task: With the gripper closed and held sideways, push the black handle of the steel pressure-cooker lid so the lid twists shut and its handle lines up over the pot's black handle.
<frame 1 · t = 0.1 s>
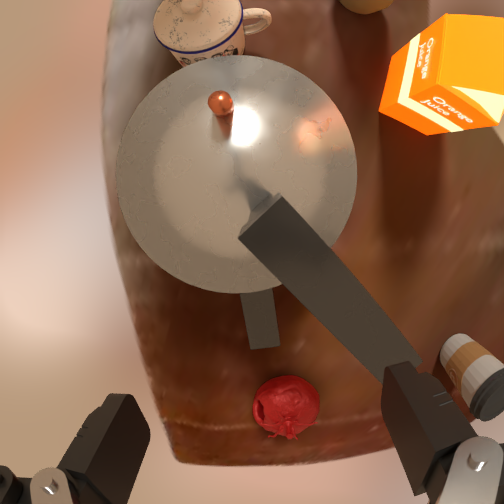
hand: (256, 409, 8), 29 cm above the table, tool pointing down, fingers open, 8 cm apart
cooker lid: (269, 216, 19), point 17 cm above the table, hinge at 35.0°
pomegranate: (285, 390, 43), on the table
orange juice: (410, 95, 32), on the table
teacup with lid: (222, 44, 31), on the table
coffee cup: (453, 348, 41), on the table
cooker pot: (243, 172, 35), on the table
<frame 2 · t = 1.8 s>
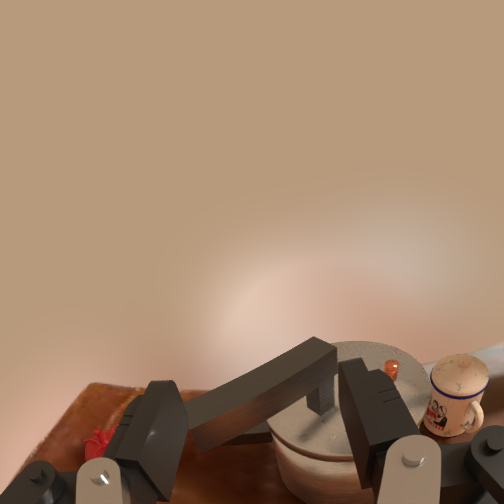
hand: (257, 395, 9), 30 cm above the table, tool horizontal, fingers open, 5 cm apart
cooker lid: (320, 384, 27), point 17 cm above the table, hinge at 35.0°
pomegranate: (126, 470, 34), on the table
teacup with lid: (451, 424, 32), on the table
cooker pot: (344, 456, 33), on the table
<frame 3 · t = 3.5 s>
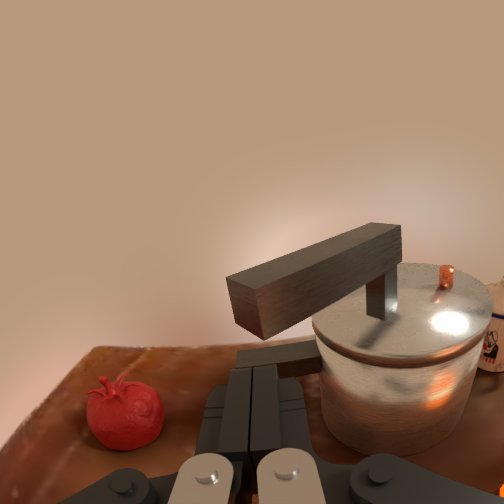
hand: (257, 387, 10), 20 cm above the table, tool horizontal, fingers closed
cooker lid: (382, 279, 24), point 17 cm above the table, hinge at 35.0°
pomegranate: (136, 433, 31), on the table
teacup with lid: (498, 360, 29), on the table
cooker pot: (395, 398, 30), on the table
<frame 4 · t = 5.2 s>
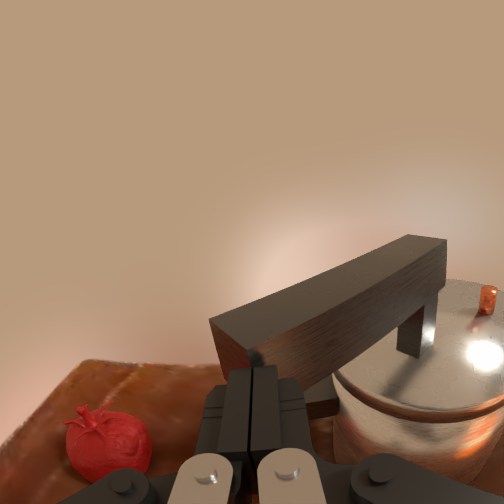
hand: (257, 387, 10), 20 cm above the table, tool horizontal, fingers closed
cooker lid: (419, 308, 18), point 17 cm above the table, hinge at 33.6°, touching gripper
pomegranate: (122, 465, 25), on the table
cooker pot: (416, 434, 24), on the table
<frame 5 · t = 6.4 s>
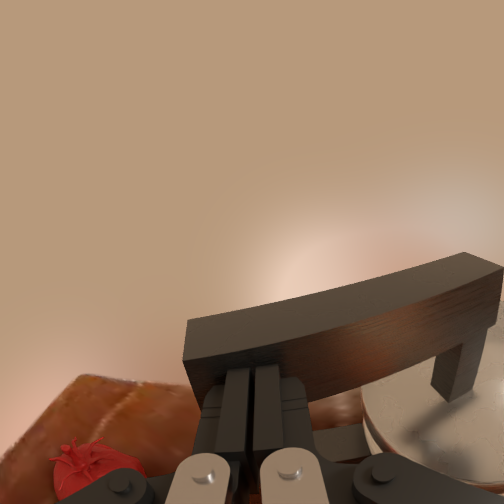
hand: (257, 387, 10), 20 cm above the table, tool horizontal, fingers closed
cooker lid: (462, 343, 13), point 17 cm above the table, hinge at 11.9°, touching gripper
pomegranate: (117, 502, 20), on the table
cooker pot: (447, 473, 17), on the table
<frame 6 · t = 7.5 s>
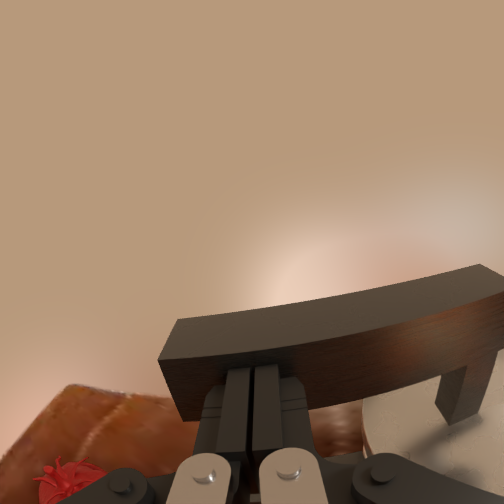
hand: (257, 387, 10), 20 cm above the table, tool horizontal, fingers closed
cooker lid: (470, 364, 11), point 17 cm above the table, hinge at 2.5°, touching gripper
cooker pot: (450, 492, 15), on the table
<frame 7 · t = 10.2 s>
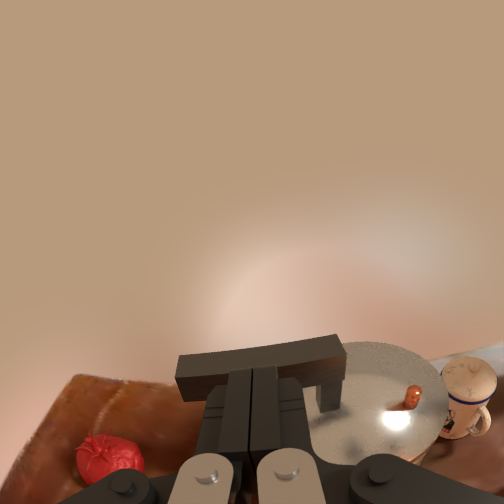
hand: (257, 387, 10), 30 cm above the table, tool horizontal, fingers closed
cooker lid: (330, 383, 26), point 17 cm above the table, hinge at 2.4°
pomegranate: (121, 475, 31), on the table
teacup with lid: (455, 425, 32), on the table
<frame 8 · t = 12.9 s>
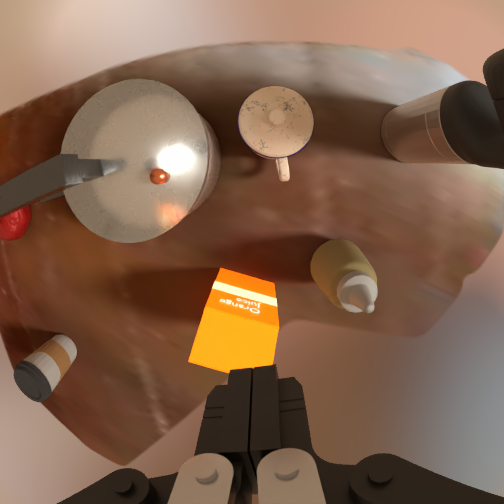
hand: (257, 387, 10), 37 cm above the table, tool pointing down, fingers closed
cooker lid: (81, 170, 27), point 17 cm above the table, hinge at 2.4°
squeeze bottle: (331, 258, 47), on the table
pomegranate: (21, 211, 46), on the table
orange juice: (241, 296, 49), on the table
teacup with lid: (274, 140, 42), on the table
coffee cup: (66, 345, 53), on the table
cooker pot: (162, 161, 43), on the table
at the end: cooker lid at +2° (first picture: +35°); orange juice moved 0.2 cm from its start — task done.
